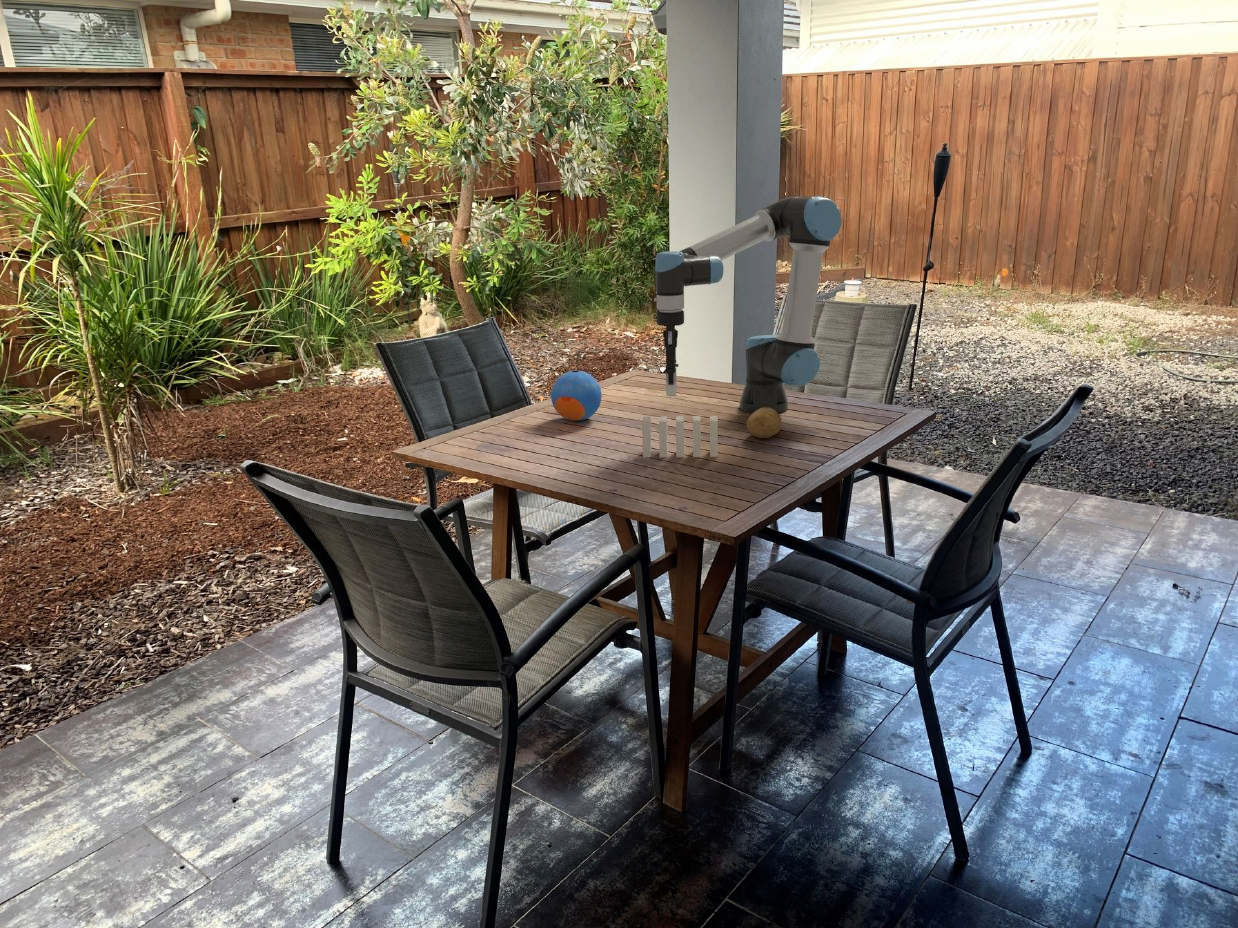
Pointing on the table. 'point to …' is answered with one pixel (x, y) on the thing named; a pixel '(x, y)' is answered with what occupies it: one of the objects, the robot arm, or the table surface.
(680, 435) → the domino
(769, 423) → the potato
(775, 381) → the robot arm
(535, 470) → the table surface
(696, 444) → the domino
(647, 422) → the domino
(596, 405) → the treat dispenser ball
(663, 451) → the domino
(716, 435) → the domino
